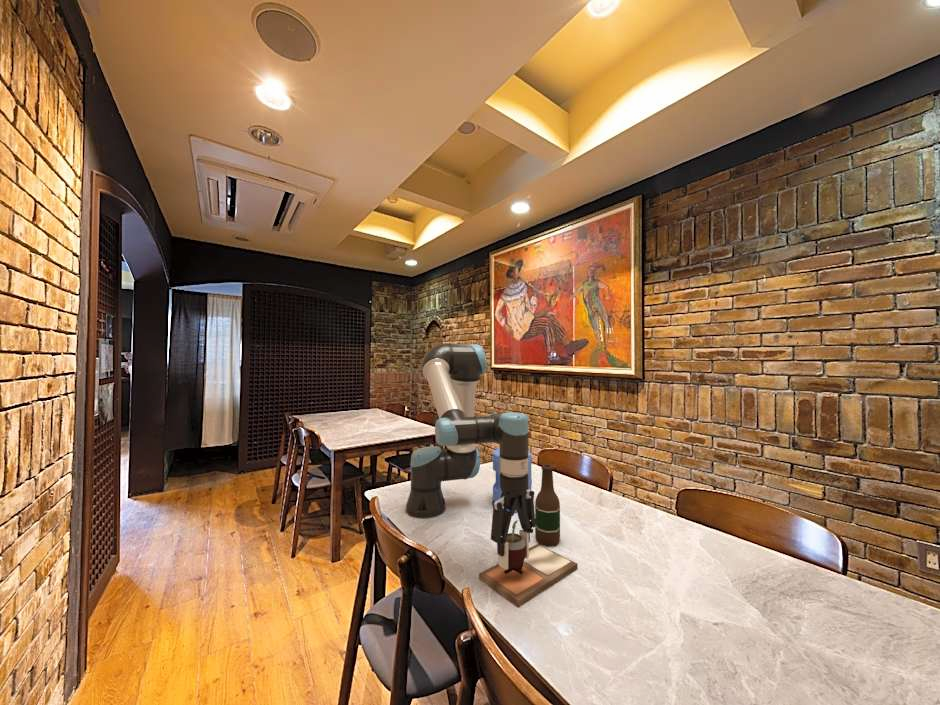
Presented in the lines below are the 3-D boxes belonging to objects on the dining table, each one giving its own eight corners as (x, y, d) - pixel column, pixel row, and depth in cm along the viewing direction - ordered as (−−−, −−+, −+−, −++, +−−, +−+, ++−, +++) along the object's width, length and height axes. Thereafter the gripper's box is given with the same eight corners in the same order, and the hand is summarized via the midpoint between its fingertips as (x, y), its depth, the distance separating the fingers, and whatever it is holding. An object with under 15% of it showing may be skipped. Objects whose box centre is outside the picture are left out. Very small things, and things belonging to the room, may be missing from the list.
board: (479, 579, 95) (479, 572, 95) (537, 548, 110) (537, 542, 110) (518, 607, 84) (518, 599, 84) (577, 569, 100) (577, 562, 100)
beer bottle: (560, 548, 110) (560, 470, 111) (534, 546, 112) (534, 468, 112) (559, 536, 118) (559, 462, 118) (535, 534, 119) (535, 461, 120)
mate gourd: (510, 558, 99) (511, 503, 99) (534, 570, 93) (534, 512, 93) (492, 569, 94) (492, 511, 94) (516, 582, 88) (516, 520, 88)
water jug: (537, 502, 146) (537, 433, 146) (521, 516, 132) (521, 440, 133) (503, 494, 154) (503, 429, 155) (485, 507, 141) (485, 435, 141)
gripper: (496, 485, 85) (496, 583, 84) (549, 468, 97) (549, 554, 97) (475, 477, 90) (475, 569, 90) (528, 462, 103) (528, 543, 103)
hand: (514, 561), depth 94 cm, fingers closed on mate gourd, 7 cm apart
